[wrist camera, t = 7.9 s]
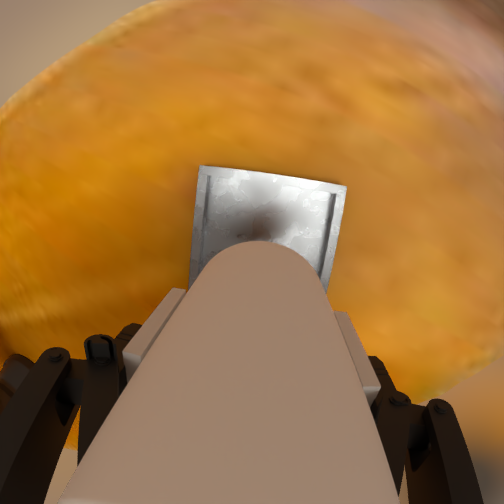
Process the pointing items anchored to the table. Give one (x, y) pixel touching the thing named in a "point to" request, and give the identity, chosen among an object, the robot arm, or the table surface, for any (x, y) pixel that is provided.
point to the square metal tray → (265, 216)
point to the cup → (242, 400)
